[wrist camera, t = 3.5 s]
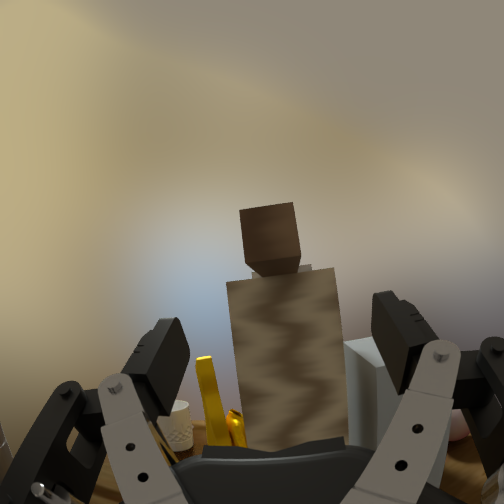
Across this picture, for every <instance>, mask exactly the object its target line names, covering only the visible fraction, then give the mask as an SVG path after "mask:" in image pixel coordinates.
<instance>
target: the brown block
mask: <svg viewBox="0 0 504 504" xmlns="http://www.w3.org/2000/svg"><path fill="white" fill-rule="evenodd" d="M239 212H240V221H241V230H242V239H243V248H244V257H245V263H246V264H247V265H248V266H249V267H250V268H252V269H253V270H254V271H255V272H252V279H255V278H262V277H270V276H277V275H285V274H292V273H299V272H306V271H312V267H311V264H308V265H301V266H299V263H300V259H301V250H300V243H299V237H298V231H297V224H296V218H295V212H294V206H293V202H290V203H282V204H275V205H269V206H262V207H255V208H249V209H243V210H239Z"/></svg>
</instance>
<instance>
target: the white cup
mask: <svg viewBox="0 0 504 504" xmlns="http://www.w3.org/2000/svg"><path fill="white" fill-rule="evenodd" d="M157 423H158V424H159V426H160V428H161V430H162V432H163V434H164V436H165V438H166V439H167V441H168V443H169V445H170V447H171V449H172V450H173V451H176V452H177V451H184V450H187V449H190V448H191V447H192V446H193V444H194V441H193V436H192V425H191V419H190V411H189V404H188V403H187V402H185V401H181V400H175V402H174V405H173V408H172V411H171V414H170V417H167V416H158V419H157Z"/></svg>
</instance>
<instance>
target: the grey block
mask: <svg viewBox="0 0 504 504" xmlns="http://www.w3.org/2000/svg"><path fill="white" fill-rule="evenodd" d="M343 345H344V356H345V369H346V383H347V401H348V427H349V445H354V446H361V447H365V448H369V449H371V450H374V451H376V450H377V448H378V446H379V444H380V442H381V441H382V439H383V437H384V435H385V433H386V431H387V429H388V427H389V425H390V423H391V421H392V419H393V417H394V415H395V413H396V411H397V409H398V406H399V404H400V402H401V400H402V398H403V395H404V394H403V395H399V396H398V395H397V392H396V390H395V387H394V385H393V383H392V380H391V378H390V375H389V373H388V371H387V369H386V366H385V364H384V362H383V359H382V357H381V355H380V353H379V351H378V348H377V346H376V344H375V342H374V340H373V336H372V337H368V338H362V339H357V340H352V341H346V342H343ZM451 416H452V410H451V414H450V417H449V421H448V424H447V427H446V431H445V434H444V437H443V440H442V443H441V446H440V448H439V451H438V454H437V457H436V459H435V462H434V464H433V467H432V469H431V472H430V474H429V476H428V479H427V481H426V482H428V483H430V484H431V485H433V486H435V487H437V488H439V487H440V483H441V479H442V474H443V469H444V464H445V459H446V453H447V447H448V441H449V434H450V425H451Z"/></svg>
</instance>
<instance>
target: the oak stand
mask: <svg viewBox="0 0 504 504" xmlns="http://www.w3.org/2000/svg"><path fill="white" fill-rule="evenodd" d="M226 286H227V295H228V304H229V313H230V321H231V330H232V338H233V346H234V354H235V361H236V369H237V377H238V385H239V392H240V399H241V406H242V413H243V420H244V427H245V433H246V440H247V446H248V448H250V449H255V450H261V451H267V452H275V451H279V450H282V449H286V448H289V447H293V446H296V445H299V444H302V443H305V442H308V441H315V440H322V439H329V438H335V437H341V436H344V441H345V445H349V429H348V402H347V384H346V369H345V357H344V346H343V336H342V326H341V317H340V309H339V301H338V293H337V285H336V278H335V272H334V268H327V269H320V270H313V271H306V272H299V273H292V274H285V275H277V276H270V277H262V278H255V279H247V280H239V281H231V282H226Z"/></svg>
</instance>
